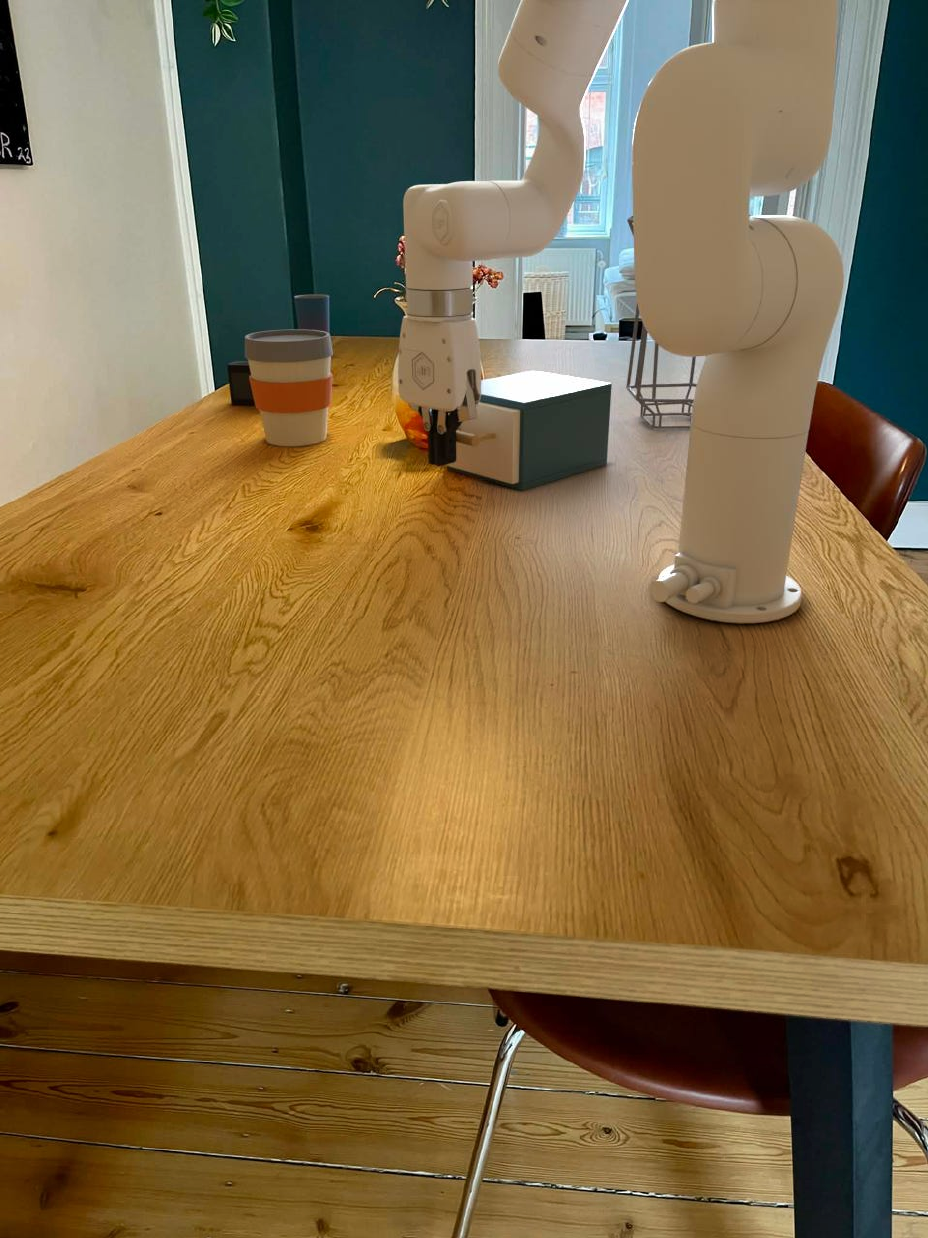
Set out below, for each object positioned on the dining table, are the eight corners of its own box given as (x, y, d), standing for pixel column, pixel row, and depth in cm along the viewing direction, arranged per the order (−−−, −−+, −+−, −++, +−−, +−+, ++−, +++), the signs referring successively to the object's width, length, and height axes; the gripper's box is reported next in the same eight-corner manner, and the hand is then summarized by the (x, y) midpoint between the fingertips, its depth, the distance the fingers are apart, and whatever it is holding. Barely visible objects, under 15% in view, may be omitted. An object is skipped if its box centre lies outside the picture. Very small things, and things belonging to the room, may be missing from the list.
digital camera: (227, 406, 158) (223, 365, 155) (240, 400, 163) (235, 359, 160) (284, 408, 156) (281, 366, 153) (295, 401, 161) (292, 361, 158)
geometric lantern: (632, 435, 138) (650, 177, 123) (613, 412, 152) (627, 178, 137) (735, 433, 138) (766, 176, 123) (707, 411, 152) (731, 178, 137)
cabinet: (522, 490, 113) (524, 402, 108) (446, 469, 122) (444, 386, 117) (607, 464, 123) (611, 383, 119) (531, 446, 132) (533, 370, 128)
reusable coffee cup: (354, 433, 140) (348, 331, 133) (308, 453, 130) (299, 343, 123) (285, 425, 145) (276, 327, 138) (236, 444, 134) (224, 338, 128)
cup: (296, 372, 187) (290, 295, 181) (328, 369, 190) (323, 293, 184) (305, 378, 182) (299, 298, 175) (338, 375, 184) (333, 296, 178)
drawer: (488, 491, 109) (488, 417, 105) (418, 471, 117) (416, 401, 114) (592, 460, 122) (596, 392, 118) (523, 443, 130) (524, 379, 126)
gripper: (372, 302, 106) (379, 457, 114) (462, 312, 96) (463, 481, 104) (420, 297, 111) (424, 446, 118) (510, 306, 101) (508, 468, 109)
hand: (442, 462), depth 111 cm, fingers closed
